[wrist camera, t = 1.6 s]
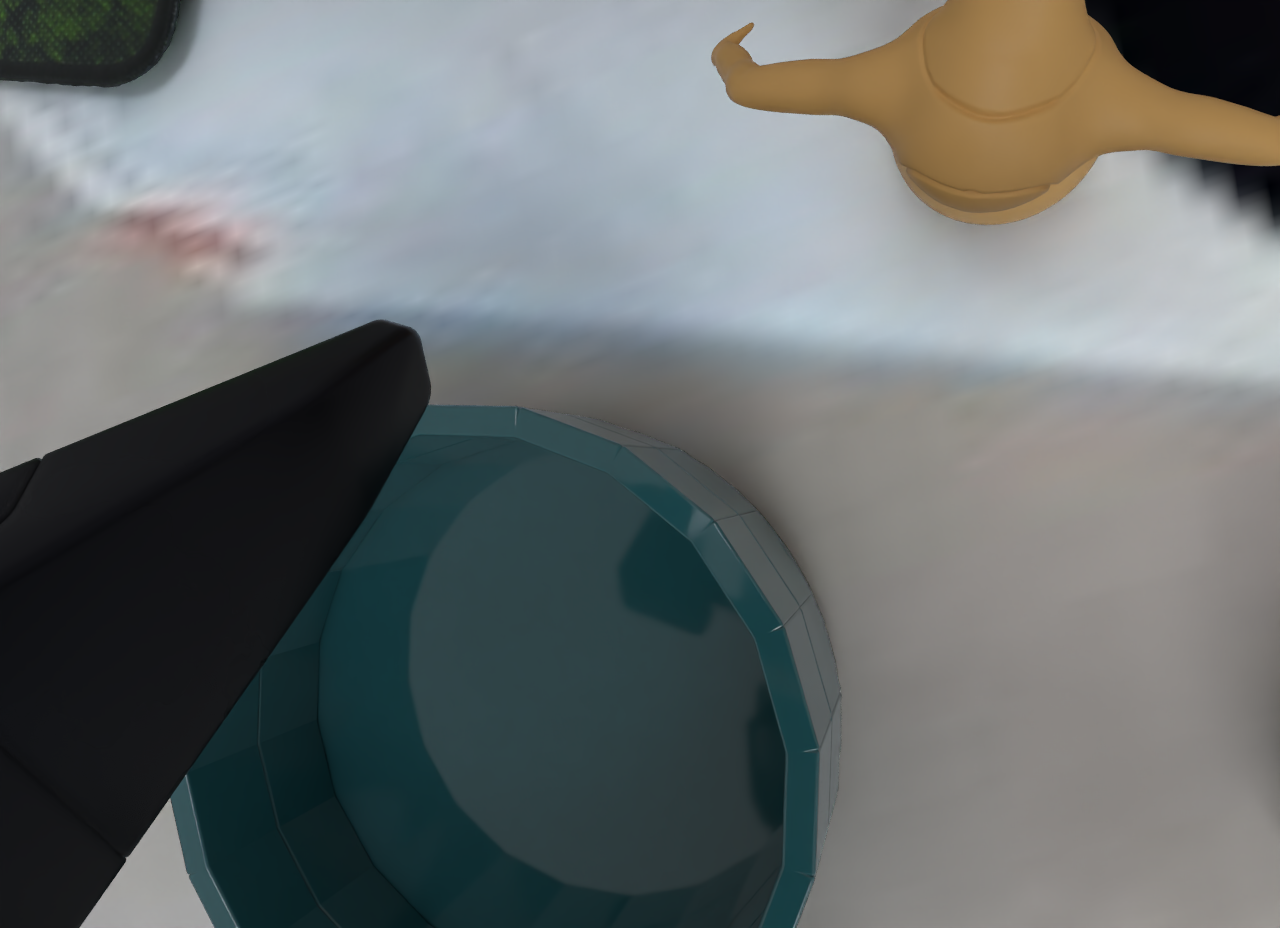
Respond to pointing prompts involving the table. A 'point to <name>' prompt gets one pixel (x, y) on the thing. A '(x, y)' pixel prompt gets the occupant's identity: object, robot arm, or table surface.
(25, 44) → the mouse mat
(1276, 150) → the figurine
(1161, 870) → the table surface
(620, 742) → the pot
